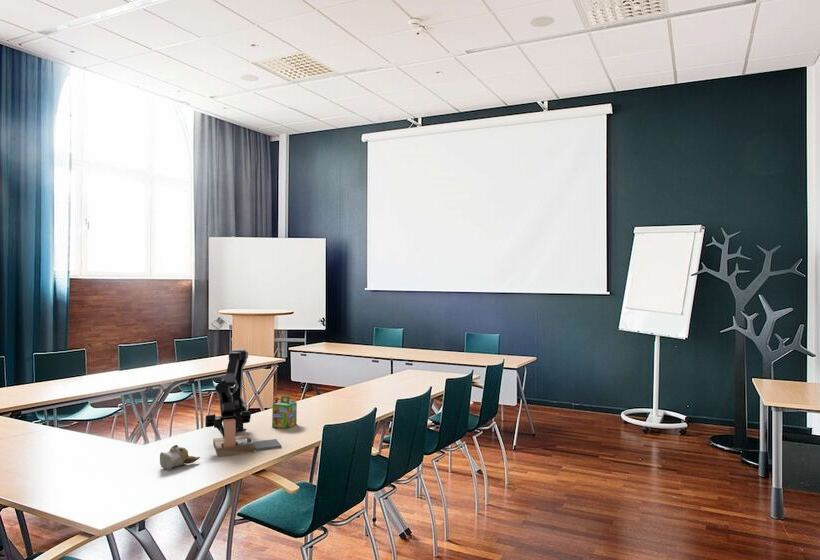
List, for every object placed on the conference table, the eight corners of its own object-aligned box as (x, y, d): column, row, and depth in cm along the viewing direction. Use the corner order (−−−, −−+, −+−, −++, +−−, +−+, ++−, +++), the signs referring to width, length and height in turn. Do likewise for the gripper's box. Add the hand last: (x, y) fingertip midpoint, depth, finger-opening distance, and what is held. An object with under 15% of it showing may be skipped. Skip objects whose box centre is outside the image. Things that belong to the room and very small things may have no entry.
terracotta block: (223, 449, 249) (223, 419, 249) (234, 448, 251) (234, 418, 251) (224, 452, 245) (224, 422, 245) (235, 451, 247) (235, 420, 246)
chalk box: (271, 427, 285) (271, 397, 285) (281, 423, 294) (280, 394, 294) (288, 429, 283) (288, 398, 283) (297, 424, 291) (297, 395, 291)
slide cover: (236, 441, 252) (236, 437, 252) (250, 439, 255) (250, 436, 255) (238, 445, 246) (238, 442, 246) (253, 444, 248) (253, 440, 248)
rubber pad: (251, 444, 257) (251, 442, 257) (276, 441, 261) (276, 439, 261) (255, 450, 247) (255, 448, 247) (281, 447, 251) (281, 445, 251)
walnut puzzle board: (213, 444, 257) (213, 438, 257) (247, 440, 263) (247, 434, 263) (217, 456, 239) (217, 450, 239) (254, 452, 245) (254, 446, 245)
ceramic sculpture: (151, 446, 224) (184, 439, 237) (150, 469, 224) (182, 460, 237) (170, 450, 219) (201, 443, 232) (168, 473, 218) (200, 465, 231)
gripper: (205, 396, 247) (207, 428, 237) (250, 392, 255) (254, 423, 245) (204, 411, 255) (206, 442, 245) (247, 406, 262) (251, 437, 252)
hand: (229, 435), depth 246 cm, fingers closed on terracotta block, 4 cm apart
